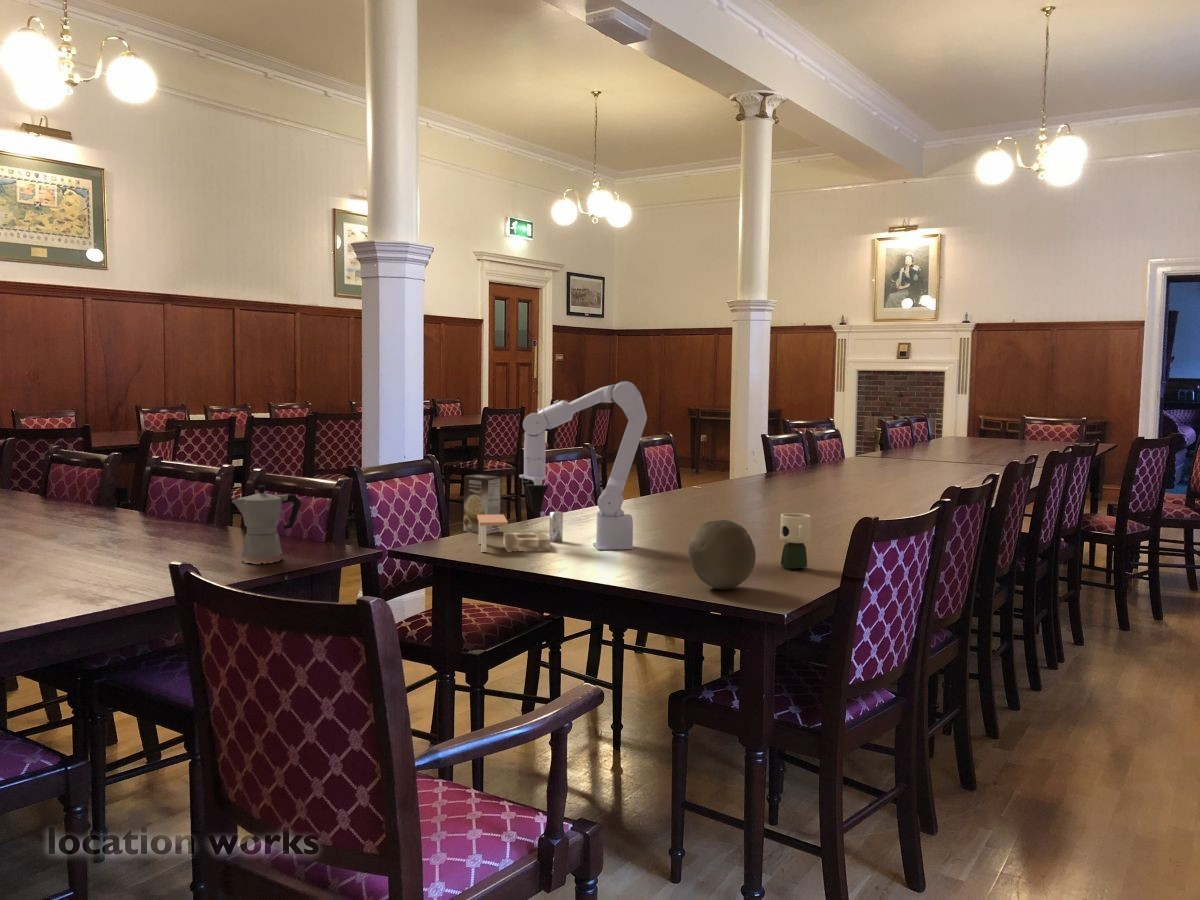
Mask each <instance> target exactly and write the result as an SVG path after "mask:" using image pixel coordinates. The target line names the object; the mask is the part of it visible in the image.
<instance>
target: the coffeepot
mask: <svg viewBox="0 0 1200 900" xmlns="http://www.w3.org/2000/svg"><path fill="white" fill-rule="evenodd" d="M257 490H258V493H254V494H251V495H248V496H243V497H238V498H234V499H232V501H231V503H232V504H234V505H235V506H236V508H237V509H238V510H239V512H240V514H241V515H242V518H243V522H244V523H243V524H244V527H246V534H245V536H244V543H243V548H242V549H243V550H242V554H241V558H242V557H246V558H269V557H275V556H279V555H280V554H282V555H283V552H282V551H283V550H282V547H281V545H282V544H281V541H280V535H279V533H278V528H277V526H278V525H280V520H281V519H280V518H281V513H282V512H281V511H282V505H283V504H287V503H292V507H291V513H290V515H289V517H288V524H283V525H282V526H283V528H284V529H285V530H287V529H288V530H289V529H292V528H293V527H294V525H295V521H296V520H297V517H298V514H299V511H300V508H301V505H302V502H301V500H300V499H299V497H298V496H297V495H295V494H289V493H288V494H278V495H275V494H271V493H266V492H265V490H266V485H262V484H260V485H258V486H257Z"/></svg>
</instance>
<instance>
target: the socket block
mask: <svg viewBox="0 0 1200 900" xmlns="http://www.w3.org/2000/svg"><path fill="white" fill-rule="evenodd" d="M503 546H504V548H505V550H506V552H508V553H511V552H512V551H514V552H512V553H516V551H524V552H550V551H551V542H550V539H549V535H547V534H546V532H544V531H543V532H540V531H539V532H538V531H537V532H533V531H531V532H503Z"/></svg>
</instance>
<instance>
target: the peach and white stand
mask: <svg viewBox="0 0 1200 900" xmlns="http://www.w3.org/2000/svg"><path fill="white" fill-rule="evenodd" d="M477 519H478V521H479V533H478V545H479V544H481V545H480V546H481V547H480V552H486V553H487V534H486V526H492V525H500V526H508V524H509V521H508V520H507V518H506V517H505V515H504V514H501V513H500V515H477Z"/></svg>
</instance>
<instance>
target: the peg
mask: <svg viewBox="0 0 1200 900" xmlns="http://www.w3.org/2000/svg"><path fill="white" fill-rule="evenodd" d="M563 525H564V512H563V511H549V525H548V526H549V528H548V529H549V532H548V533H549V534H548V537H549V539H550V543H552V542H560V543H562V542H563V539H564V538H563V534H564V533H563V529H564V528H563V527H564V526H563Z"/></svg>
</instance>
